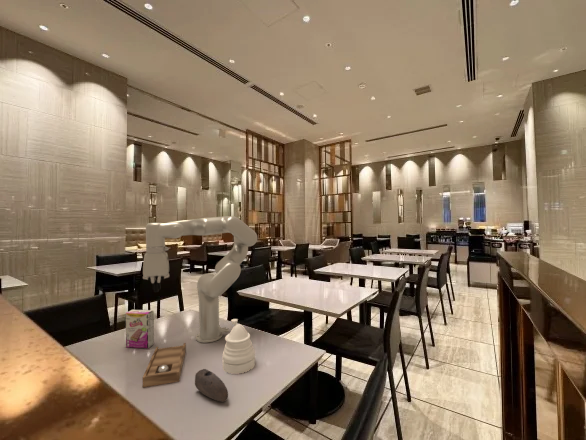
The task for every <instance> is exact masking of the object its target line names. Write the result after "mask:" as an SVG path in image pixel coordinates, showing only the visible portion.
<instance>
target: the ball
mask: <svg viewBox="0 0 586 440" xmlns="http://www.w3.org/2000/svg"><path fill="white" fill-rule="evenodd" d="M163 372H170V371H169V367H168V366H167V365H162V366H160V367H159V368H158V371H157V373H163Z"/></svg>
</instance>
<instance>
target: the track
mask: <svg viewBox="0 0 586 440" xmlns="http://www.w3.org/2000/svg"><path fill="white" fill-rule="evenodd" d="M186 351H187V344H186V342H183V344H182V345H175V346H169V347H160V348H159V346H156V347H155V348H154V351H153V353H152V355H151V357H150V360H149V363H148V365H147V367H146V368H145V372H144V373H143V376H142V388H147V387H148V388H149V387H154V386H161V385H165V384H172V383H179V382H180V380H179V379H181V374H182V369H183V366H184V365H183V364H184V361H185V357H186ZM162 365H167V366H168V367H169V372H163V373H157V371H158V368H159V367H160V366H162Z"/></svg>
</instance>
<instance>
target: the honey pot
mask: <svg viewBox="0 0 586 440" xmlns="http://www.w3.org/2000/svg"><path fill="white" fill-rule="evenodd" d="M238 320H239V319H238V318H233V319H231V320H230V321H231V324H232V325H233V327H232V329H231V330H230V332H228V333H227V335H225V337H224V340H225V341H226V343H225V345H224V348H223V352H222V356H221V357H222V360H221V361H222V370H223V371H224V372H225V373H227V372H228V373H227V374H230V373H231V375H240V374H239V373H242V374H245V373H247V371H248V372H249V370H250V369H251V370H252V369H254V367H255V365H256V360H255V359H256V357H255V356H256V353H255V352H256V351H255V348H254V346H253V342H252V340H251V334H250V333H249V331H247V329H246V328H245V327H244V326H243V325H242V324H240V323H238V322H239V321H238ZM251 370H250V371H251ZM244 372H245V373H244Z"/></svg>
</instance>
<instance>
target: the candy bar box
mask: <svg viewBox="0 0 586 440" xmlns="http://www.w3.org/2000/svg"><path fill="white" fill-rule="evenodd" d="M124 314H125V348H129V349H131V348H132V349H150V348H151V347H152V346H153V345H154V344H155V327H154V326H155V323H154V320H155V318H154V317H155V316H154V315H155V314H154V310H151V309H131V310H129V311H127V312H125V313H124Z"/></svg>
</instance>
